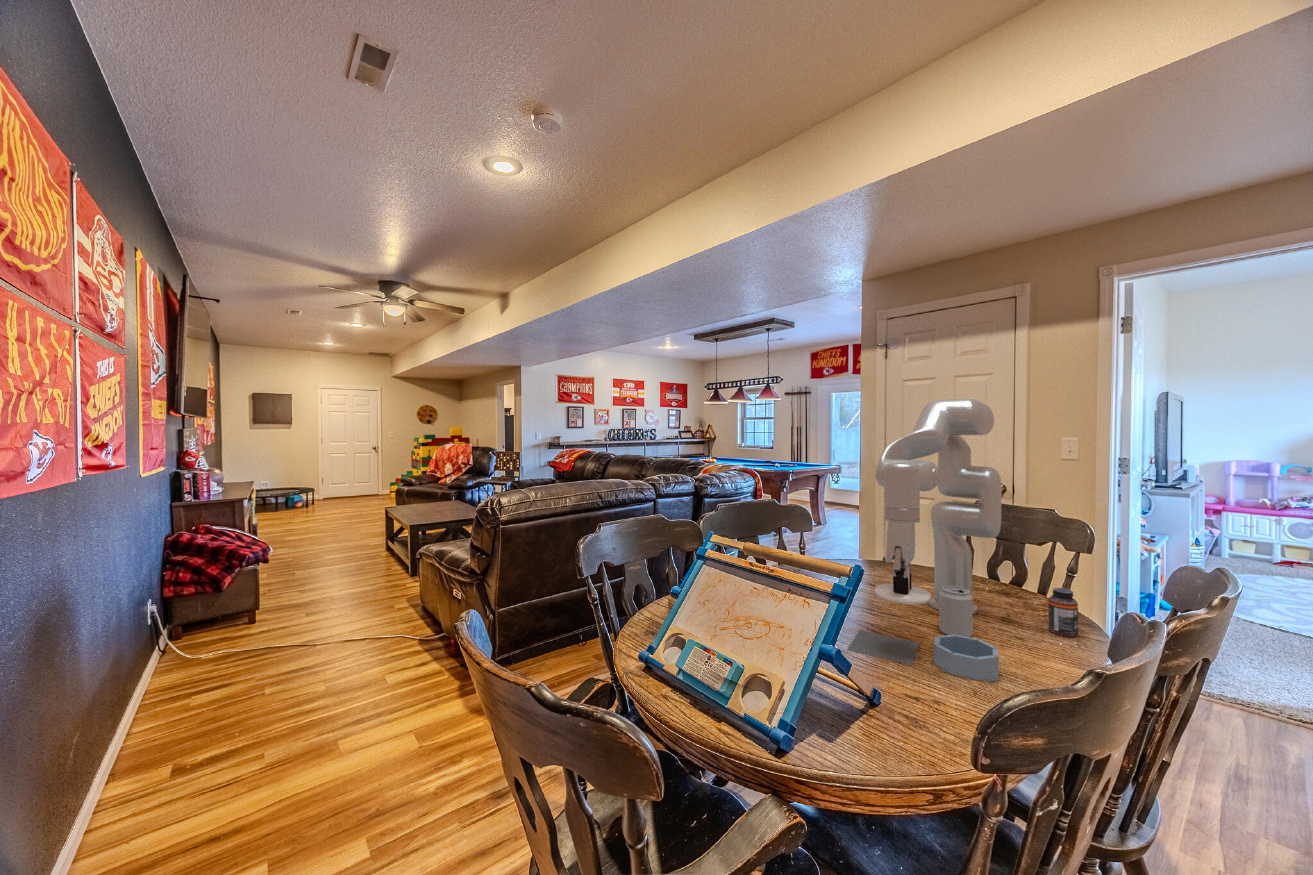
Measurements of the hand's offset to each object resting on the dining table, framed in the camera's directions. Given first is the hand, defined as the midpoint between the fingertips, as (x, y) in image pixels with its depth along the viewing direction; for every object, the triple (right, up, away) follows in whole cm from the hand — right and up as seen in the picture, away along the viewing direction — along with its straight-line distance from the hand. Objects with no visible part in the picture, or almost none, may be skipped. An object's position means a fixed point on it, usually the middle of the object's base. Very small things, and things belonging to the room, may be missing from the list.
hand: (902, 590), depth 118 cm
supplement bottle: (+47, -15, +11) cm, 50 cm away
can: (+19, -15, +10) cm, 26 cm away
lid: (0, -1, 0) cm, 1 cm away
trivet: (-3, -15, +3) cm, 16 cm away
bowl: (+10, -15, -8) cm, 20 cm away
